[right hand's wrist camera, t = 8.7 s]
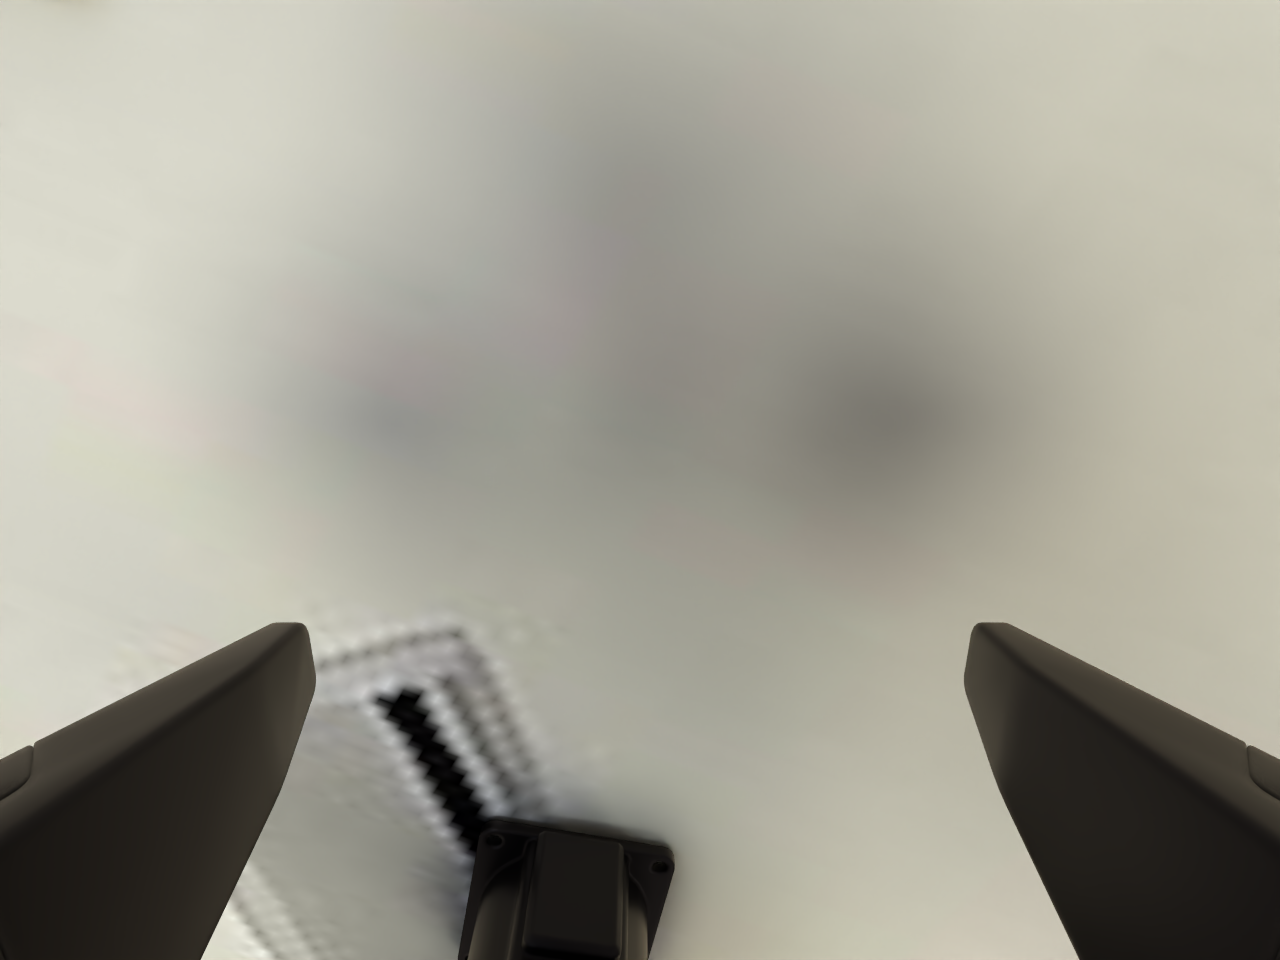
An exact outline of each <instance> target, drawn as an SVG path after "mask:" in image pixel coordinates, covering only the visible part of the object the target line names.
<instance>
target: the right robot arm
mask: <svg viewBox="0 0 1280 960" xmlns="http://www.w3.org/2000/svg"><path fill="white" fill-rule="evenodd" d="M315 686H316V673H315V667H314V661H313V655H312V649H311V643H310V638H309V633H308V630H307V628H306V626H305V625H304V624H302V623H272V624H270V625H268V626H266V627H264V628H262V629H260V630H258V631H256V632H254V633H252V634H250V635H248V636H246V637H244V638H242V639H240V640H238V641H236V642H234V643H232V644H230V645H228V646H226V647H224V648H222V649H220V650H218V651H216V652H214V653H212V654H210V655H208V656H206V657H204V658H202V659H200V660H198V661H196V662H194V663H192V664H190V665H188V666H186V667H184V668H182V669H180V670H178V671H176V672H174V673H172V674H170V675H168V676H166V677H164V678H162V679H160V680H158V681H156V682H154V683H152V684H150V685H148V686H146V687H144V688H142V689H140V690H138V691H136V692H134V693H132V694H130V695H128V696H126V697H124V698H122V699H120V700H118V701H116V702H114V703H112V704H110V705H108V706H106V707H104V708H102V709H100V710H98V711H96V712H94V713H92V714H90V715H88V716H86V717H84V718H82V719H80V720H79V721H77V722H75V723H73V724H71V725H69V726H67V727H65V728H63V729H61V730H59V731H57V732H55V733H53V734H51V735H49V736H47V737H45V738H43V739H41V740H39V741H37V742H35V743H34V748H33V747H32V746H26V747H24V748H22V749H20V750H18V751H16V752H14V753H12V754H10V755H9V756H7V757H5V758H3V759H1V760H0V960H201V958H202V955H203V953H204V951H205V949H206V947H207V945H208V943H209V941H210V939H211V937H212V934H213V932H214V930H215V928H216V926H217V924H218V922H219V920H220V918H221V916H222V913H223V911H224V909H225V907H226V905H227V903H228V901H229V899H230V897H231V894H232V892H233V890H234V888H235V886H236V884H237V882H238V880H239V878H240V876H241V873H242V871H243V869H244V867H245V865H246V863H247V861H248V859H249V857H250V855H251V852H252V850H253V848H254V846H255V844H256V842H257V840H258V838H259V836H260V833H261V831H262V829H263V827H264V825H265V823H266V821H267V819H268V817H269V815H270V812H271V810H272V808H273V806H274V804H275V802H276V799H277V797H278V795H279V793H280V790H281V788H282V785H283V783H284V780H285V777H286V775H287V772H288V769H289V766H290V763H291V760H292V757H293V754H294V751H295V748H296V745H297V742H298V739H299V736H300V733H301V730H302V727H303V724H304V721H305V719H306V716H307V713H308V710H309V707H310V704H311V701H312V698H313V695H314V691H315ZM964 686H965V691H966V695H967V698H968V701H969V704H970V707H971V710H972V713H973V716H974V719H975V722H976V724H977V727H978V730H979V733H980V736H981V739H982V742H983V745H984V748H985V751H986V754H987V757H988V760H989V763H990V766H991V769H992V772H993V775H994V777H995V780H996V783H997V785H998V788H999V790H1000V793H1001V795H1002V797H1003V799H1004V802H1005V804H1006V806H1007V808H1008V810H1009V812H1010V815H1011V817H1012V819H1013V821H1014V823H1015V825H1016V827H1017V829H1018V831H1019V833H1020V836H1021V838H1022V840H1023V842H1024V844H1025V846H1026V848H1027V850H1028V852H1029V855H1030V857H1031V859H1032V861H1033V863H1034V865H1035V867H1036V869H1037V871H1038V873H1039V876H1040V878H1041V880H1042V882H1043V884H1044V886H1045V888H1046V890H1047V892H1048V894H1049V897H1050V899H1051V901H1052V903H1053V905H1054V907H1055V909H1056V911H1057V913H1058V916H1059V918H1060V920H1061V922H1062V924H1063V926H1064V928H1065V930H1066V932H1067V934H1068V937H1069V939H1070V941H1071V943H1072V945H1073V947H1074V949H1075V951H1076V953H1077V956H1078V958H1079V960H1280V760H1279V759H1277V758H1275V757H1273V756H1271V755H1269V754H1268V753H1266V752H1264V751H1262V750H1260V749H1258V748H1256V747H1254V746H1248V747H1247V748H1246V743H1245V742H1243V741H1241V740H1239V739H1237V738H1235V737H1233V736H1231V735H1229V734H1227V733H1225V732H1223V731H1221V730H1219V729H1217V728H1215V727H1213V726H1211V725H1209V724H1207V723H1205V722H1203V721H1201V720H1200V719H1198V718H1196V717H1194V716H1192V715H1190V714H1188V713H1186V712H1184V711H1182V710H1180V709H1178V708H1176V707H1174V706H1172V705H1170V704H1168V703H1166V702H1164V701H1162V700H1160V699H1158V698H1156V697H1154V696H1152V695H1150V694H1148V693H1146V692H1144V691H1142V690H1140V689H1138V688H1136V687H1134V686H1132V685H1130V684H1128V683H1126V682H1124V681H1122V680H1120V679H1118V678H1116V677H1114V676H1112V675H1110V674H1108V673H1106V672H1104V671H1102V670H1100V669H1098V668H1096V667H1094V666H1092V665H1090V664H1088V663H1086V662H1084V661H1082V660H1080V659H1078V658H1076V657H1074V656H1072V655H1070V654H1068V653H1066V652H1064V651H1062V650H1060V649H1058V648H1056V647H1054V646H1052V645H1050V644H1048V643H1046V642H1044V641H1042V640H1040V639H1038V638H1036V637H1034V636H1032V635H1030V634H1028V633H1026V632H1024V631H1022V630H1020V629H1018V628H1016V627H1014V626H1012V625H1010V624H1008V623H978V624H976V625H975V626H974V628H973V630H972V633H971V638H970V643H969V649H968V655H967V661H966V667H965V673H964ZM491 835H496V836H499V838H494V837H492V836H491ZM659 861H662V862H663V863H655V862H659ZM673 873H674V854H673V853H672V851H671V850H669V849H668V848H666V847H663V846H656V845H650V844H644V843H638V842H631V841H625V840H619V839H613V838H606V837H600V836H594V835H588V834H581V833H575V832H569V831H563V830H556V829H550V828H544V827H537V826H531V825H525V824H519V823H512V822H506V821H500V820H491V821H488V822H486V823H485V824H484V825H483V826H482V829H481V832H480V836H479V841H478V847H477V853H476V858H475V864H474V869H473V875H472V881H471V886H470V892H469V898H468V903H467V909H466V915H465V920H464V926H463V931H462V937H461V943H460V948H459V954H458V960H648V958H649V954H650V951H651V947H652V944H653V941H654V937H655V934H656V930H657V927H658V924H659V920H660V917H661V913H662V910H663V907H664V903H665V900H666V896H667V893H668V890H669V886H670V883H671V879H672V876H673Z"/></svg>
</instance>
